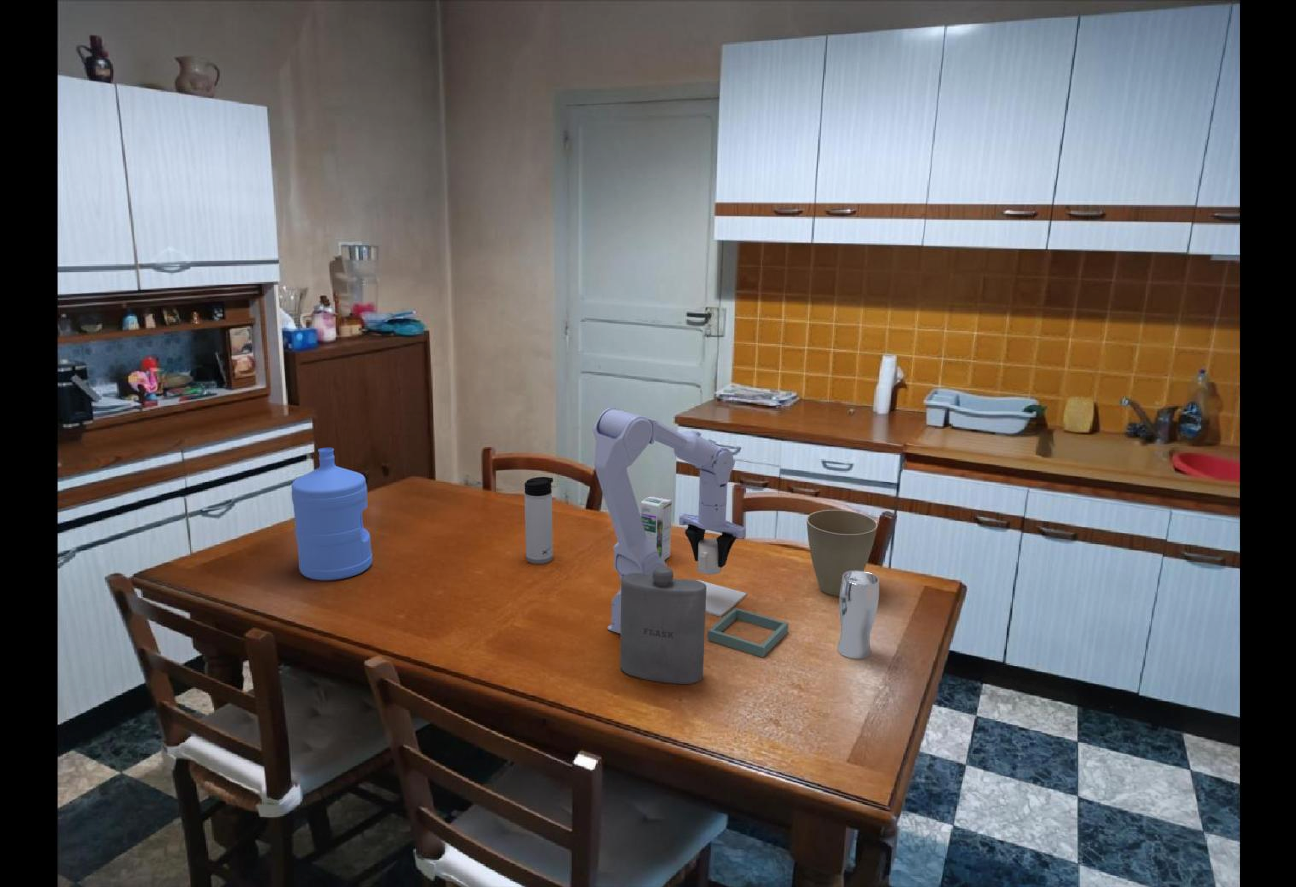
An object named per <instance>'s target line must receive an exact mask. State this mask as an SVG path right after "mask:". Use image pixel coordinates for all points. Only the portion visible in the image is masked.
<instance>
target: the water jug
mask: <svg viewBox="0 0 1296 887" xmlns="http://www.w3.org/2000/svg"><path fill="white" fill-rule="evenodd" d="M334 451H335V449H334V448H333V447H322V448H319V449H318V451H317V452H318V453H319V456H318V460H319V467H318V468H316V469H314V470H312V471H309V472H307V473H305V474H304V475H302V476H300V477H297V478H296V479H294V481H292V483H291V486H290V487H291V501H292V505H293V514H294V515H293V516H294V523H295V524H294V525H295V526H294V532H295V537H296V543H297V552H298V554H297V555H298V568H299V569H298V570H299V572H300V574H302V575H303V576H304V577H306V578H308V579H312V580H315V581H337V580H344V579H348V578H351V577H353V576H357V575H359V574H362V573H364V572H365V571H366V570H368V569H369V568H370V567H371V566H372V564H373V551H372V546H371V545H372V544H371V535H370V532H369V531H368V530H367V529H366V528H365V527H364V523H363V522H364V521H363V511H365V510H366V509H367V508H368V486H367V483H366V481H367V480H366V477H365V476H364V474H362V473H360V472H359V471H358V472H357V471H353V470H350V469H347V468H344V467H340V466H337V465H336V464H335V455H334Z"/></svg>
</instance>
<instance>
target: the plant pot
mask: <svg viewBox="0 0 1296 887" xmlns="http://www.w3.org/2000/svg"><path fill="white" fill-rule="evenodd" d="M878 525H879V524H878V523H877V521H876V519H874V518H872V517H871V516H868V515H866V514H864V513H860V512H856V511H852V510H851V511H850V510H845V509H843V510H842V509H823V510H819V511H813V512H811V513H810V514H808V515H807V517H806V531H807V540H808V546H809V552H810V558H811V563H812V566H813V570H814V574H815V577H816V580H817V583H818V587H819V589H820V590H821V591H822V592H823V593H825V594H827V595H830V596H835V597H840V589H841V583H842V577H843V574H844V573H845V572H847V571H853V570H859V571H865V569H866V567H867V563H868V561H869V558H870V554H871V552H872V549H873V545H874V542H875V538H876V534H877V530H878Z"/></svg>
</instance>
